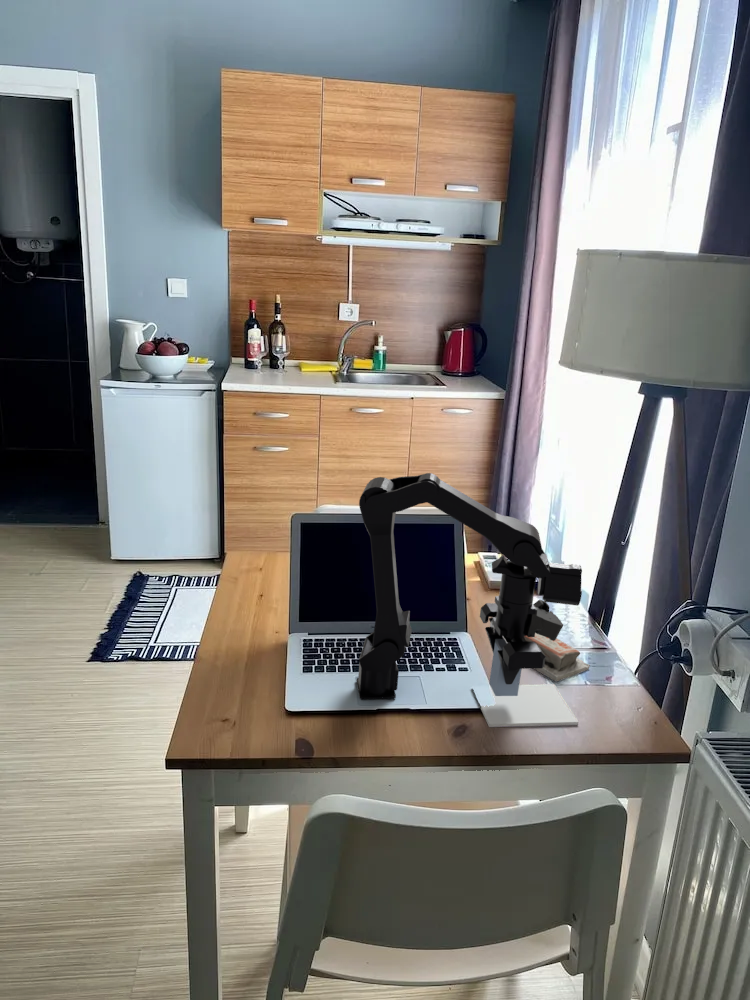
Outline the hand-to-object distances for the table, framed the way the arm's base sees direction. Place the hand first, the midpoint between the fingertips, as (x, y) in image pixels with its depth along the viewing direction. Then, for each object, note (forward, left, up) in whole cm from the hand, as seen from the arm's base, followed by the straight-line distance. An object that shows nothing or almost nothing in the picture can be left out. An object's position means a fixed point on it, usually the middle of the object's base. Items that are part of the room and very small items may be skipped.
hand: (504, 677), depth 135 cm
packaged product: (+13, +18, -7) cm, 23 cm away
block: (0, 0, -2) cm, 2 cm away
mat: (+4, 0, -6) cm, 7 cm away
